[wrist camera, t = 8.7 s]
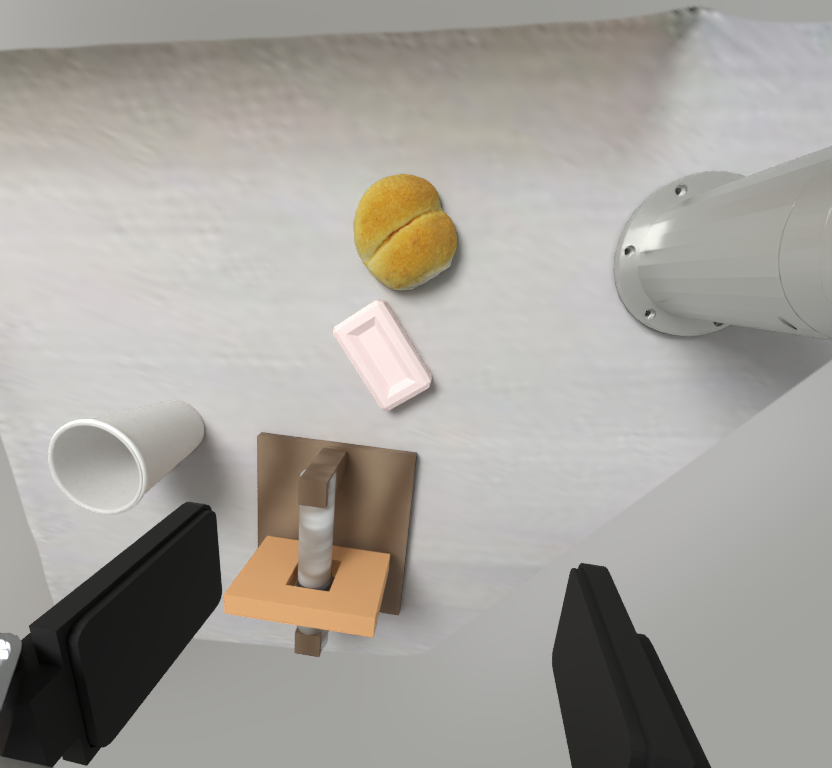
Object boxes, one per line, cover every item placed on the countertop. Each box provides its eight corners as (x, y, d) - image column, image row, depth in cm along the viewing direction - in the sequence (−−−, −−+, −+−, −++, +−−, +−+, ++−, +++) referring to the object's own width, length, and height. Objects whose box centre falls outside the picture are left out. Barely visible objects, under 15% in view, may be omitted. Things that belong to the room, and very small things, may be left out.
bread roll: (418, 159, 33) (414, 143, 29) (469, 256, 35) (471, 253, 31) (337, 214, 35) (323, 205, 31) (389, 304, 36) (381, 307, 32)
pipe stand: (416, 452, 39) (408, 491, 32) (400, 608, 44) (389, 672, 37) (261, 432, 41) (219, 465, 33) (262, 586, 45) (225, 645, 38)
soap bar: (387, 406, 39) (383, 414, 37) (337, 326, 37) (328, 329, 35) (434, 379, 38) (433, 386, 35) (384, 296, 36) (379, 297, 34)
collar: (390, 554, 40) (375, 618, 33) (388, 570, 41) (373, 637, 33) (267, 535, 41) (223, 594, 34) (267, 552, 42) (224, 613, 34)
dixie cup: (233, 434, 41) (164, 482, 31) (180, 476, 43) (100, 533, 33) (177, 371, 40) (88, 399, 30) (125, 417, 42) (26, 457, 32)
